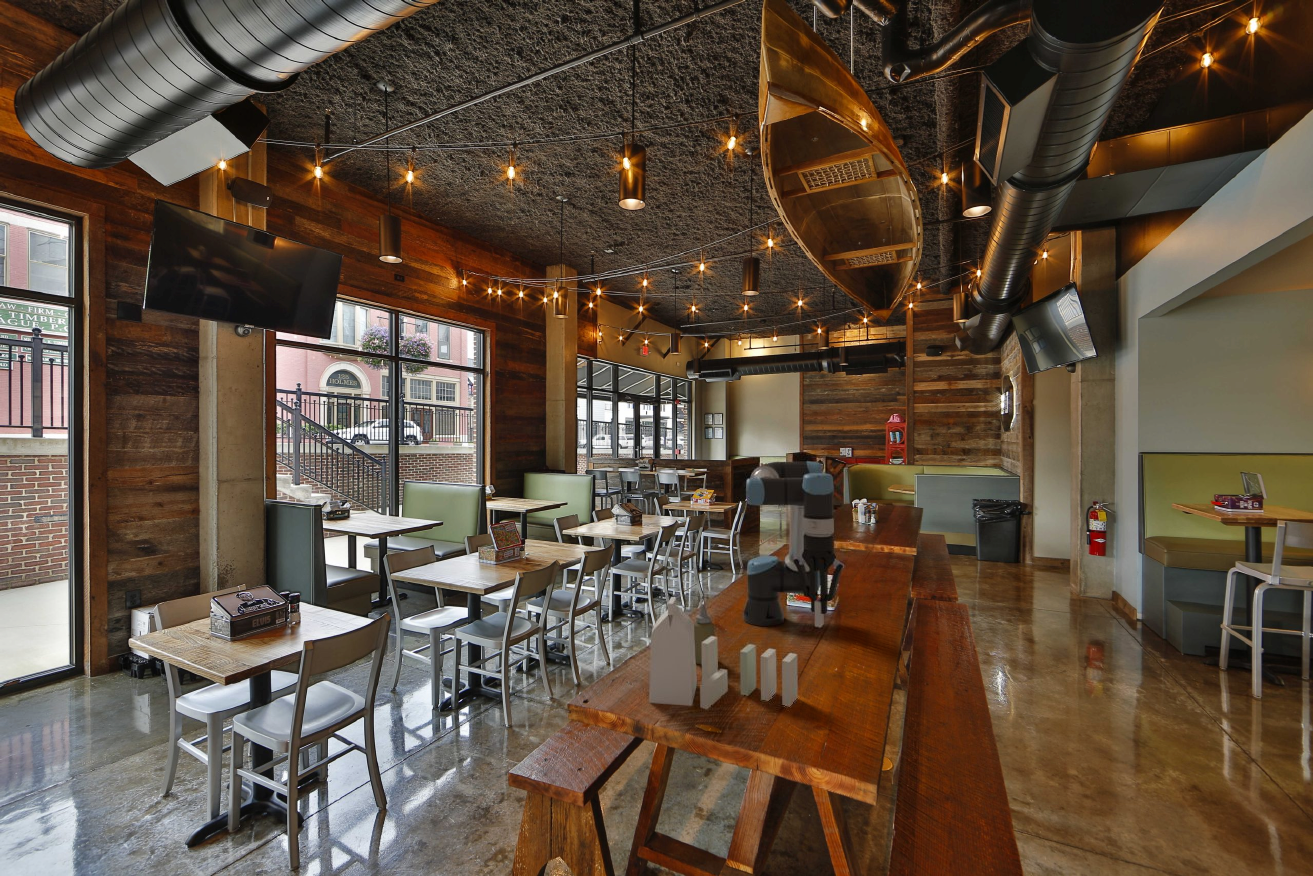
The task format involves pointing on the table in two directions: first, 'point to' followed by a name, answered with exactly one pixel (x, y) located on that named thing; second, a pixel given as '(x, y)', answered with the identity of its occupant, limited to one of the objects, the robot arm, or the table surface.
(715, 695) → the domino
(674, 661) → the milk
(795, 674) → the domino
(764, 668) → the domino
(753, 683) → the domino
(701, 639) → the squeeze bottle
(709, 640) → the domino
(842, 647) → the table surface
